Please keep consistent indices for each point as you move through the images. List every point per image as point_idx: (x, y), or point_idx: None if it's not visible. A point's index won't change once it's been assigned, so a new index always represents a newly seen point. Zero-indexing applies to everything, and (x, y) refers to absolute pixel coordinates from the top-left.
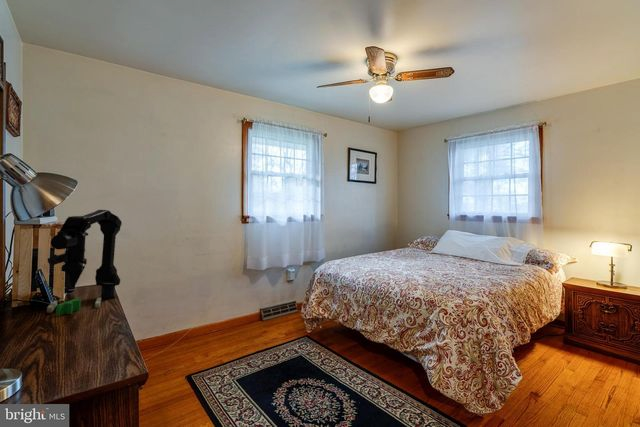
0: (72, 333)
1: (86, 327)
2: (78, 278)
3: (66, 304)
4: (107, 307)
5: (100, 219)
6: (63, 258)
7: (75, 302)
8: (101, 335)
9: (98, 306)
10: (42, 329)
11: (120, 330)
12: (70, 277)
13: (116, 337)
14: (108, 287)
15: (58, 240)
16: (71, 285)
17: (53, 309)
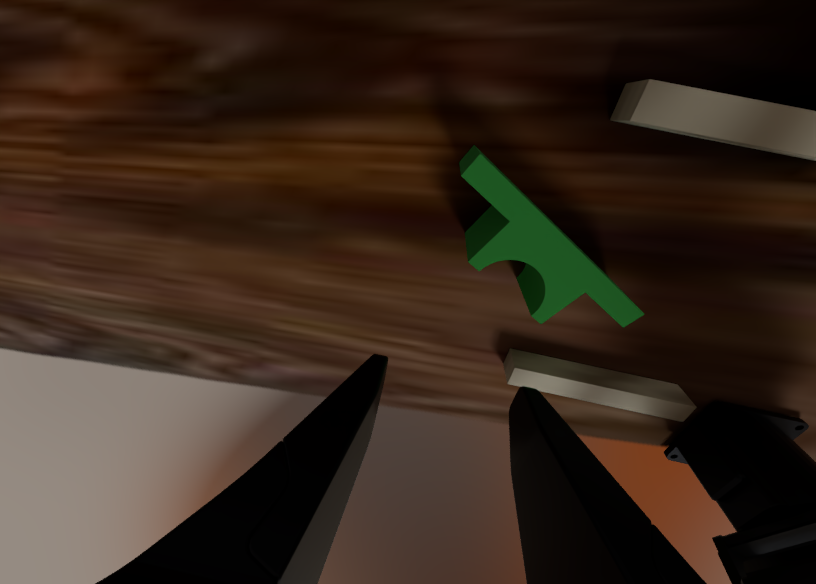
0: (88, 204)
1: (167, 264)
2: (517, 510)
3: (497, 228)
4: (483, 389)
5: None
6: None
7: (541, 287)
8: (52, 293)
9: (505, 366)
10: (185, 58)
11: (103, 350)
12: (257, 476)
13: (28, 325)
14: (741, 507)
15: None
16: (370, 359)
17: (695, 136)
